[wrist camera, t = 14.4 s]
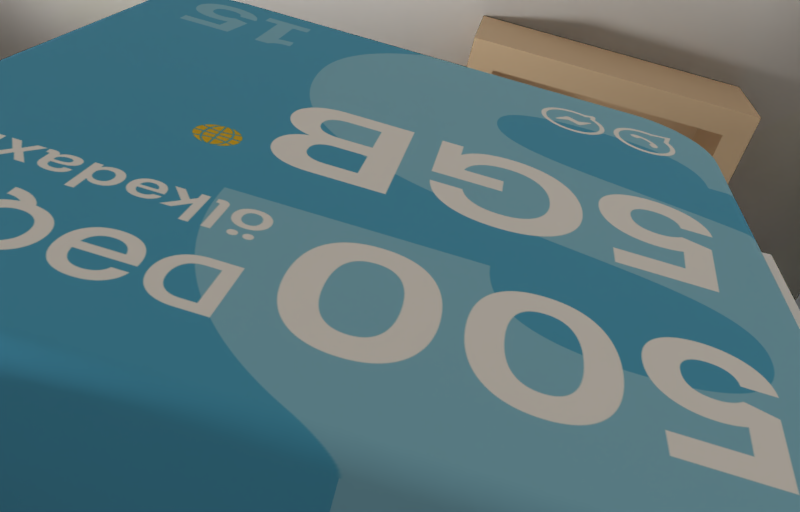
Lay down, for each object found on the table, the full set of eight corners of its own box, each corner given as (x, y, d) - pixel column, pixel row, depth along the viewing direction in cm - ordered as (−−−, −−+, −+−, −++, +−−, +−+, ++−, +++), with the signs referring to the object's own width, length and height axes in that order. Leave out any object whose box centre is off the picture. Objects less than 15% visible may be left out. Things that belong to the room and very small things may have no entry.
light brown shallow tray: (395, 330, 41) (379, 376, 37) (484, 15, 32) (474, 37, 28) (594, 390, 40) (597, 442, 37) (739, 86, 31) (761, 118, 28)
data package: (708, 133, 16) (977, 648, 6) (628, 301, 19) (722, 885, 8) (179, -19, 17) (-425, 215, 6) (165, 164, 19) (-297, 554, 9)
